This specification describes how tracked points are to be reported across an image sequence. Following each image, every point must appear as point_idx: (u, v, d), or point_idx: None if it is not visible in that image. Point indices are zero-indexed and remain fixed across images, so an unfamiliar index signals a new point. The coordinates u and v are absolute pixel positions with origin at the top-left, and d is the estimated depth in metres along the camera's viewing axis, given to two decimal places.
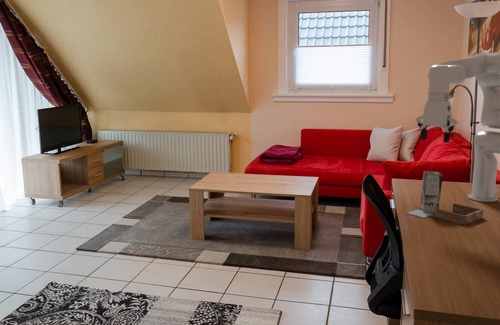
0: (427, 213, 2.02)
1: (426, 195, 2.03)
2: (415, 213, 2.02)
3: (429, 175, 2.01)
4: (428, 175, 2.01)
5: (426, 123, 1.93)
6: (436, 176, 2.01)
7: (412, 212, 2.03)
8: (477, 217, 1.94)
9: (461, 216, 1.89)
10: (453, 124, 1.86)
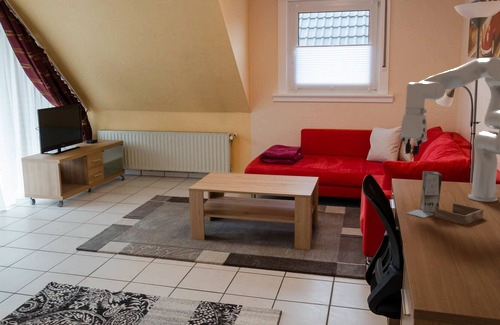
0: (427, 213, 2.02)
1: (426, 195, 2.03)
2: (415, 213, 2.02)
3: (428, 175, 2.02)
4: (427, 175, 2.02)
5: (404, 135, 2.11)
6: (435, 176, 2.01)
7: (412, 212, 2.03)
8: (477, 217, 1.94)
9: (461, 216, 1.89)
10: (422, 139, 2.06)
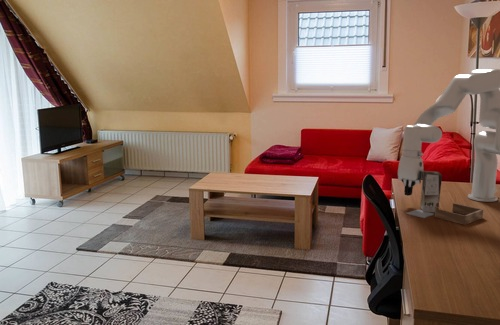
0: (427, 213, 2.02)
1: (426, 195, 2.03)
2: (415, 213, 2.02)
3: (428, 175, 2.02)
4: (427, 175, 2.02)
5: (400, 176, 2.14)
6: (435, 176, 2.01)
7: (412, 212, 2.03)
8: (477, 217, 1.94)
9: (461, 216, 1.89)
10: (416, 182, 2.10)
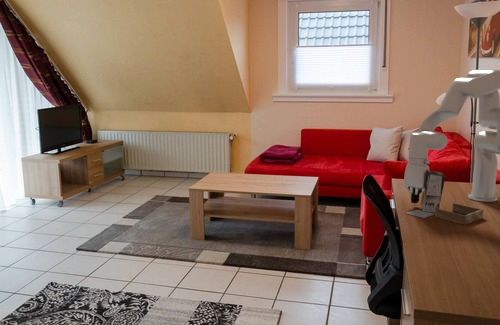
0: (427, 213, 2.02)
1: (427, 195, 2.02)
2: (415, 213, 2.02)
3: (432, 175, 2.01)
4: (431, 175, 2.01)
5: (407, 184, 2.12)
6: (439, 177, 2.00)
7: (412, 212, 2.03)
8: (477, 217, 1.94)
9: (461, 216, 1.89)
10: (422, 190, 2.08)
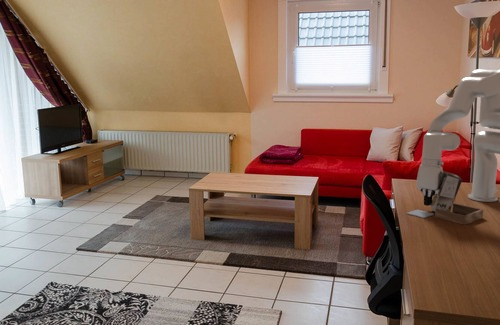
0: (427, 213, 2.02)
1: (441, 196, 1.99)
2: (415, 213, 2.02)
3: (449, 177, 1.97)
4: (448, 176, 1.97)
5: (420, 185, 2.07)
6: (455, 179, 1.96)
7: (412, 212, 2.03)
8: (477, 217, 1.94)
9: (461, 216, 1.89)
10: (436, 192, 2.03)
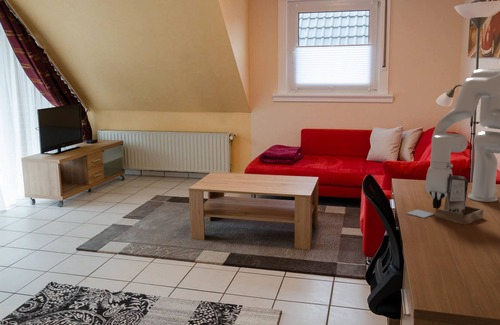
0: (427, 213, 2.02)
1: (451, 201, 1.95)
2: (415, 213, 2.02)
3: (454, 180, 1.93)
4: (453, 180, 1.93)
5: (428, 188, 2.04)
6: (461, 181, 1.92)
7: (412, 212, 2.03)
8: (477, 217, 1.94)
9: (461, 216, 1.89)
10: (445, 194, 2.00)
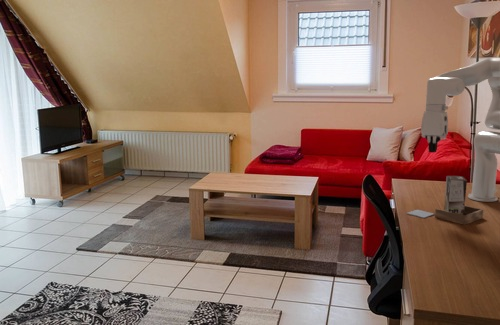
0: (427, 213, 2.02)
1: (450, 201, 1.95)
2: (415, 213, 2.02)
3: (452, 181, 1.93)
4: (451, 181, 1.93)
5: (424, 132, 2.04)
6: (460, 181, 1.93)
7: (412, 212, 2.03)
8: (477, 217, 1.94)
9: (461, 216, 1.89)
10: (441, 137, 2.00)
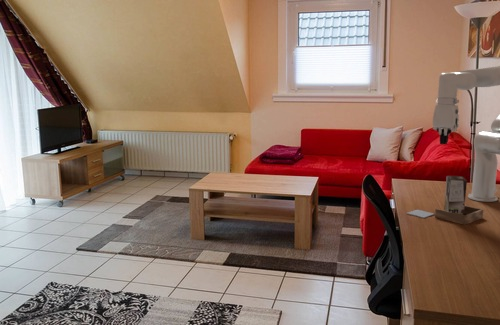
0: (427, 213, 2.02)
1: (450, 201, 1.95)
2: (415, 213, 2.02)
3: (452, 181, 1.93)
4: (451, 181, 1.93)
5: (436, 125, 2.13)
6: (460, 182, 1.93)
7: (412, 212, 2.03)
8: (477, 217, 1.94)
9: (461, 216, 1.89)
10: (452, 130, 2.08)
